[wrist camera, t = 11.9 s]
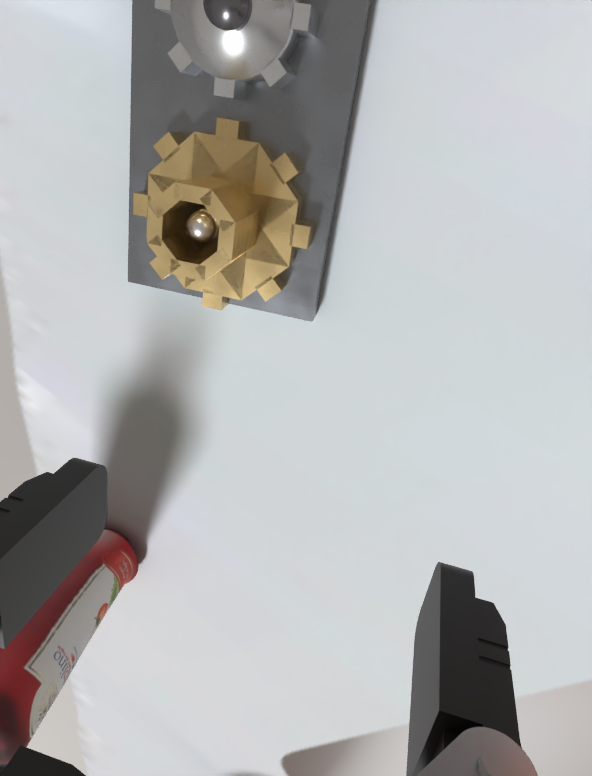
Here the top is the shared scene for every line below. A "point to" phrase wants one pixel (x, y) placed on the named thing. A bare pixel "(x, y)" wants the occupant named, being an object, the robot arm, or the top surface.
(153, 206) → the gear
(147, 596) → the top surface
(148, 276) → the carrier plate
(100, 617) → the liquor
